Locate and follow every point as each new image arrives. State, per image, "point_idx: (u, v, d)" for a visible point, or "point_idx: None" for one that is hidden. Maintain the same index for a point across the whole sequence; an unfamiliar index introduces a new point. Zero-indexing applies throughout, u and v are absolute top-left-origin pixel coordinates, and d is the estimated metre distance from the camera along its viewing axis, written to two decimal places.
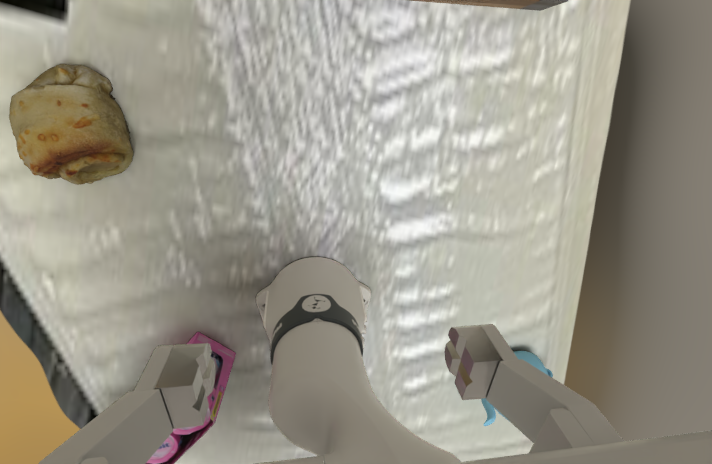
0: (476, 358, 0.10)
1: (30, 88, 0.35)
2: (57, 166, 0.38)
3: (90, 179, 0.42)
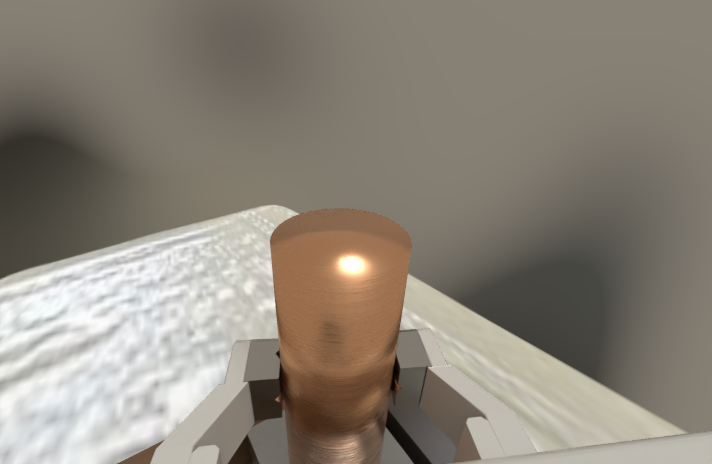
0: (404, 364, 0.10)
1: None
2: None
3: None
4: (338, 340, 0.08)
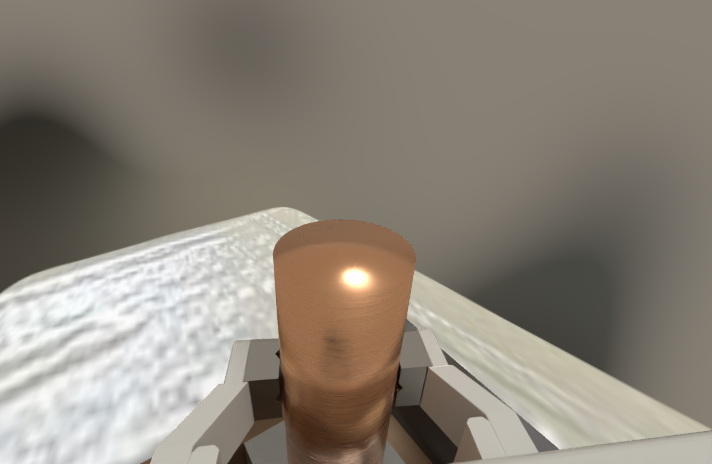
0: (405, 364, 0.10)
1: None
2: None
3: None
4: (343, 355, 0.08)
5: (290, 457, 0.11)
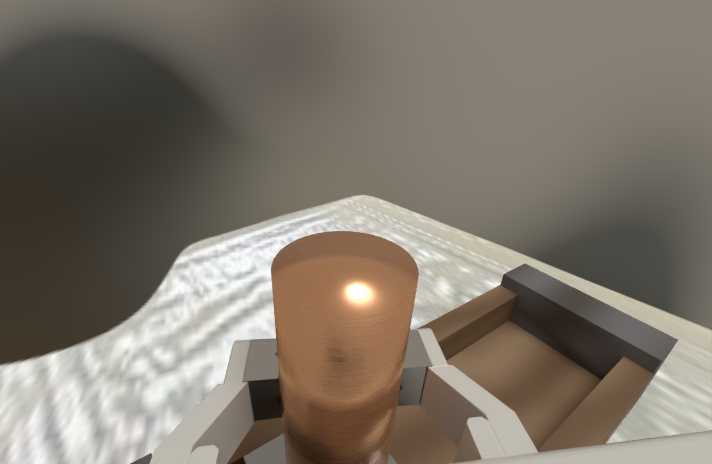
0: (404, 364, 0.10)
1: None
2: None
3: None
4: (342, 374, 0.07)
5: None
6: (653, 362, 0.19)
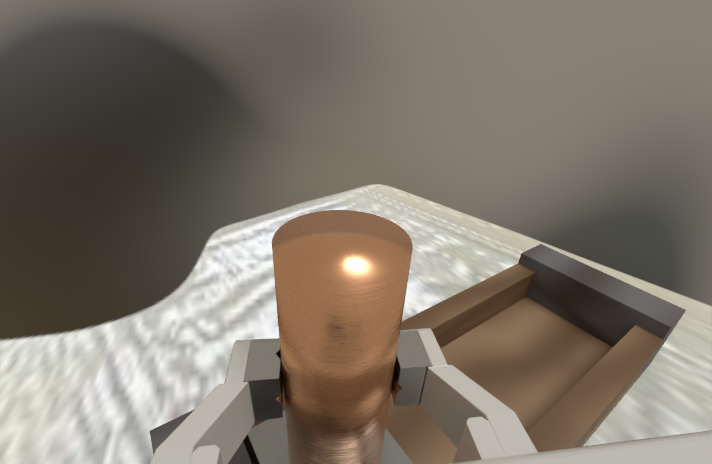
0: (404, 364, 0.10)
1: None
2: None
3: None
4: (340, 341, 0.08)
5: (290, 443, 0.11)
6: (663, 329, 0.21)
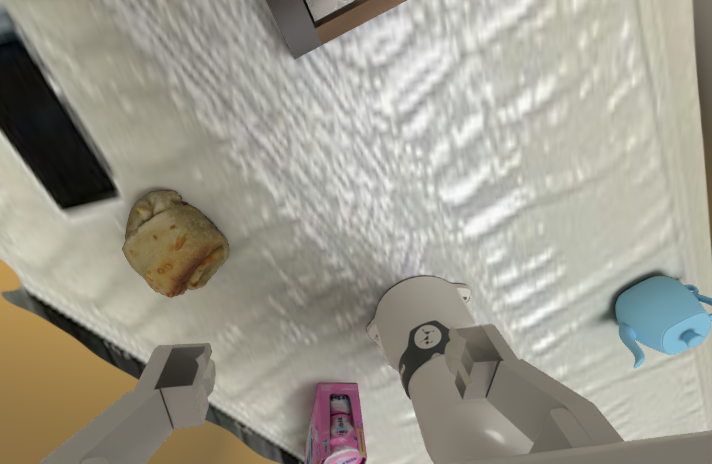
0: (476, 358, 0.10)
1: (129, 237, 0.39)
2: (183, 284, 0.42)
3: (209, 277, 0.46)
4: None
5: None
6: None
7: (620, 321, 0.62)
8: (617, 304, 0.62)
